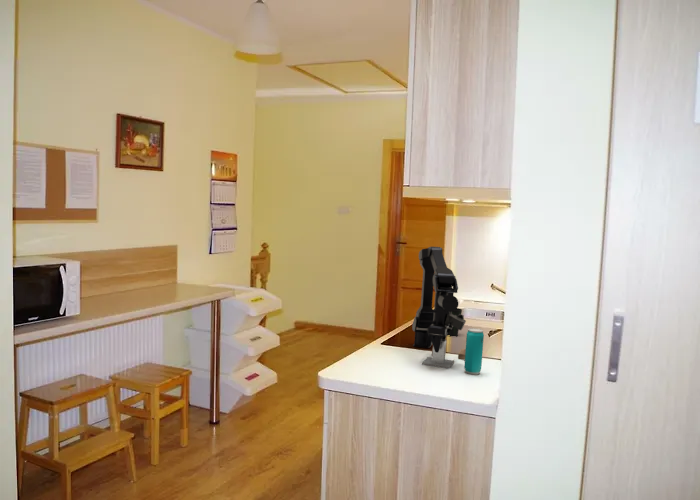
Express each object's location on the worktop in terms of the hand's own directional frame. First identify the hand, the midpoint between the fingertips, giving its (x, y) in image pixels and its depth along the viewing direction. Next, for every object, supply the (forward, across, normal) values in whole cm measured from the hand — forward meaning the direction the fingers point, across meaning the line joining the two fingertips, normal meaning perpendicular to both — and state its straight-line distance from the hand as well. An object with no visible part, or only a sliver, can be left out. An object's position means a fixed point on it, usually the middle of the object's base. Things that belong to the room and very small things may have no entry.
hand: (439, 349), depth 209 cm
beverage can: (+5, -6, -13) cm, 15 cm away
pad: (+5, 0, 0) cm, 5 cm away
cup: (+5, +53, +4) cm, 54 cm away
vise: (+5, +15, -4) cm, 16 cm away
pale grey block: (+4, 0, 0) cm, 5 cm away
